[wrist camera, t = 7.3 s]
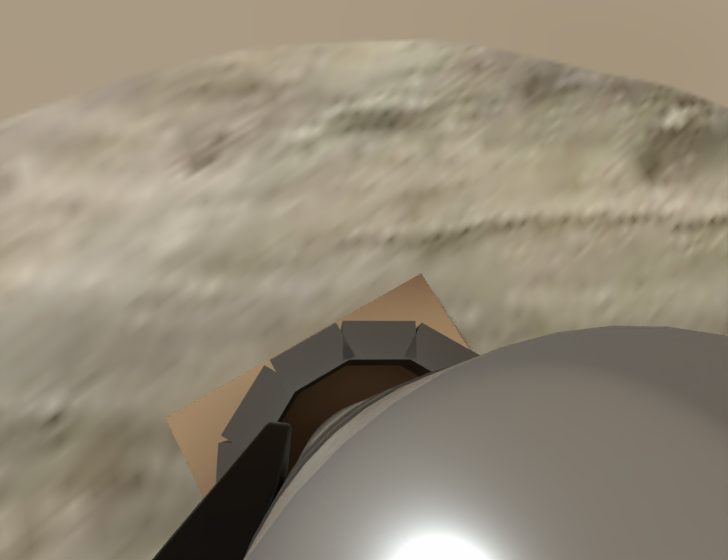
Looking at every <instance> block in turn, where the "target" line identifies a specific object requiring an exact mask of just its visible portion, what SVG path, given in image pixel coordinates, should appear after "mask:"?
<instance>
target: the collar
mask: <svg viewBox="0 0 728 560" xmlns="http://www.w3.org/2000/svg"><path fill="white" fill-rule="evenodd" d="M478 356H480V355H478V354H476V353H475V352H473V351H471V350H469V348H468V347H467V345H466V344H465V342H464V340H463V339H462V337H461V336H460V334H459V333H458V331H457V329H456V328H455V326H454V325H453V323H452V321H451V320H450V318H449V317H448V315H447V314H446V312H445V310H444V309H443V307H442V306H441V304H440V303H439V301H438V299H437V298H436V296H435V295H434V293H433V291H432V290H431V288H430V287H429V285H428V284H427V282H426V280H425V279H424V277H423V276H422V274H420V275H418V276H416V277H414V278H413V279H411V280H409V281H407V282H405V283H404V284H402V285H400V286H398V287H397V288H395V289H393V290H391V291H390V292H388V293H386V294H384V295H383V296H381V297H379V298H377V299H375V300H374V301H372V302H370V303H368V304H367V305H365V306H363V307H361V308H360V309H358V310H356V311H354V312H352V313H351V314H349V315H347V316H345V317H344V318H342V319H340V320H338V321H337V322H335V323H333V324H331V325H329V326H328V327H326V328H324V329H322V330H321V331H319V332H317V333H315V334H314V335H312V336H310V337H308V338H307V339H305V340H303V341H301V342H299V343H298V344H296V345H294V346H292V347H291V348H289V349H287V350H285V351H284V352H282V353H280V354H278V355H276V356H275V357H273V358H271V359H269V360H268V361H266V362H264V363H262V364H261V365H259V366H257V367H255V368H253V369H252V370H250V371H248V372H246V373H245V374H243V375H241V376H239V377H238V378H236V379H234V380H232V381H231V382H229V383H227V384H225V385H223V386H222V387H220V388H218V389H216V390H215V391H213V392H211V393H209V394H208V395H206V396H204V397H202V398H200V399H199V400H197V401H195V402H193V403H192V404H190V405H188V406H186V407H185V408H183V409H181V410H179V411H177V412H176V413H174V414H172V415H170V416H169V417H167V418H166V420H167V422H168V424H169V426H170V429H171V431H172V433H173V435H174V437H175V439H176V441H177V443H178V445H179V447H180V449H181V451H182V453H183V455H184V457H185V460H186V462H187V464H188V466H189V468H190V470H191V472H192V474H193V476H194V478H195V480H196V482H197V484H198V486H199V488H200V491H201V493H202V495H203V497H205V496H206V495H207V494H208V492H209V491H210V490H211V489H212V488H213V486H214V485H215V484H216V483H217V482H218V480H219V479H220V478H221V477H222V476H223V474H224V473H225V472H226V471H227V470H228V469H229V467H230V466H231V465H232V464H233V463H234V461H235V460H236V459H237V458H238V457H239V455H240V454H241V453H242V452H243V451H244V449H245V448H246V447H247V446H248V445H249V443H250V442H251V441H252V440H253V439H254V438H255V436H256V435H257V434H258V433H259V432H260V430H261V429H262V428H263V427H264V426H265V425H266V424H267V423H268V422H281V423H288V424H290V425H291V427H292V431H291V443H290V454H289V463H288V470H287V476H286V479H287V477H288V475H289V473H290V472H291V470H292V468H293V467H294V466H295V464H296V462H297V461H298V459H299V457H300V455H301V453H302V451H303V450H304V448H305V446H306V444H307V443H308V441H309V439H310V437H311V436H312V435H313V433H314V432H315V431H316V430H317V428H318V427H319V426H320V425H321V424H322V423H323V422H324V421H325V420H327V419H328V418H329V417H330V416H332V415H333V414H335V413H336V412H338V411H340V410H341V409H343V408H346V407H348V406H350V405H353V404H355V403H358V402H360V401H363V400H366V399H368V398H370V397H372V396H374V395H376V394H379V393H381V392H383V391H386V390H388V389H390V388H393V387H395V386H398V385H400V384H403V383H405V382H408V381H410V380H413V379H415V378H417V377H420V376H422V375H425V374H427V373H430V372H432V371H435V370H439V369H443V368H446V367H450V366H454V365H457V364H460V363H462V362H465V361H467V360H470V359H473V358H475V357H478Z"/></svg>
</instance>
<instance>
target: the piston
mask: <svg viewBox="0 0 728 560" xmlns="http://www.w3.org/2000/svg"><path fill="white" fill-rule="evenodd" d="M243 560H728V337H727V336H724V335H718V334H711V333H705V332H698V331H691V330H685V329H678V328H671V327H645V326H607V327H599V328H591V329H583V330H574V331H566V332H558V333H553V334H550V335H546V336H542V337H538V338H535V339H531V340H527V341H524V342H520V343H516V344H512V345H509V346H505V347H501V348H499V349H496V350H493V351H491V352H488V353H486V354H483V355H480V356H478V357H475V358H473V359H470V360H467V361H465V362H462V363H460V364H457V365H454V366H450V367H446V368H443V369H439V370H435V371H432V372H430V373H427V374H425V375H422V376H420V377H417V378H415V379H413V380H410V381H408V382H405V383H403V384H400V385H398V386H395V387H393V388H390V389H388V390H386V391H383V392H381V393H379V394H376V395H374V396H372V397H370V398H368V399H366V400H363V401H360V402H358V403H355V404H353V405H350V406H348V407H346V408H343V409H341V410H340V411H338V412H336V413H335V414H333V415H332V416H330V417H329V418H328V419H327V420H325V421H324V422H323V423H322V424H321V425H320V426H319V427H318V428H317V430H316V431H315V432H314V433H313V435H312V436H311V437H310V439H309V441H308V443H307V444H306V446H305V448H304V450H303V451H302V453H301V455H300V457H299V459H298V461H297V462H296V464H295V466H294V467H293V468H292V470H291V472H290V473H289V475H288V477H287V479H286V480H285V482H284V484H283V485H282V487H281V489H280V491H279V492H278V494H277V496H276V498H275V499H274V501H273V503H272V505H271V506H270V508H269V510H268V512H267V514H266V515H265V517H264V519H263V521H262V522H261V524H260V526H259V528H258V529H257V531H256V533H255V535H254V536H253V538H252V540H251V543H250V545H249V547H248V549H247V552H246V554H245V556H244V559H243Z"/></svg>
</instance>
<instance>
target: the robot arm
mask: <svg viewBox="0 0 728 560" xmlns="http://www.w3.org/2000/svg"><path fill="white" fill-rule="evenodd" d="M291 431H292V427H291V425H290V424H288V423H281V422H268V423H267V424H266V425H265V426H264V427H263V428H262V429H261V430H260V432H259V433H258V434H257V435H256V436H255V438H254V439H253V440H252V441H251V442H250V443H249V445H248V446H247V447H246V448H245V449H244V451H243V452H242V453H241V454H240V455H239V457H238V458H237V459H236V460H235V461H234V463H233V464H232V465H231V466H230V467H229V469H228V470H227V471H226V472H225V473H224V474H223V476H222V477H221V478H220V479H219V480H218V482H217V483H216V484H215V485H214V486H213V488H212V489H211V490H210V491H209V492H208V494H207V495H206V496H205V497H204V498H203V499H202V501H201V502H200V503H199V504H198V505H197V507H196V508H195V509H194V510H193V511H192V513H191V514H190V515H189V516H188V517H187V519H186V520H185V521H184V522H183V523H182V525H181V526H180V527H179V528H178V529H177V530H176V532H175V533H174V534H173V535H172V536H171V538H170V539H169V540H168V541H167V542H166V544H165V545H164V546H163V547H162V548H161V550H160V551H159V552H158V553H157V554H156V555H155V557H154V558H153V559H152V560H243V559H244V556H245V554H246V552H247V549H248V547H249V545H250V543H251V540H252V538H253V536H254V535H255V533H256V531H257V529H258V528H259V526H260V524H261V522H262V521H263V519H264V517H265V515H266V514H267V512H268V510H269V508H270V506H271V505H272V503H273V501H274V499H275V498H276V496H277V494H278V492H279V491H280V489H281V487H282V485H283V484H284V482H285V480H286V476H287V470H288V463H289V454H290V443H291Z"/></svg>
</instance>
